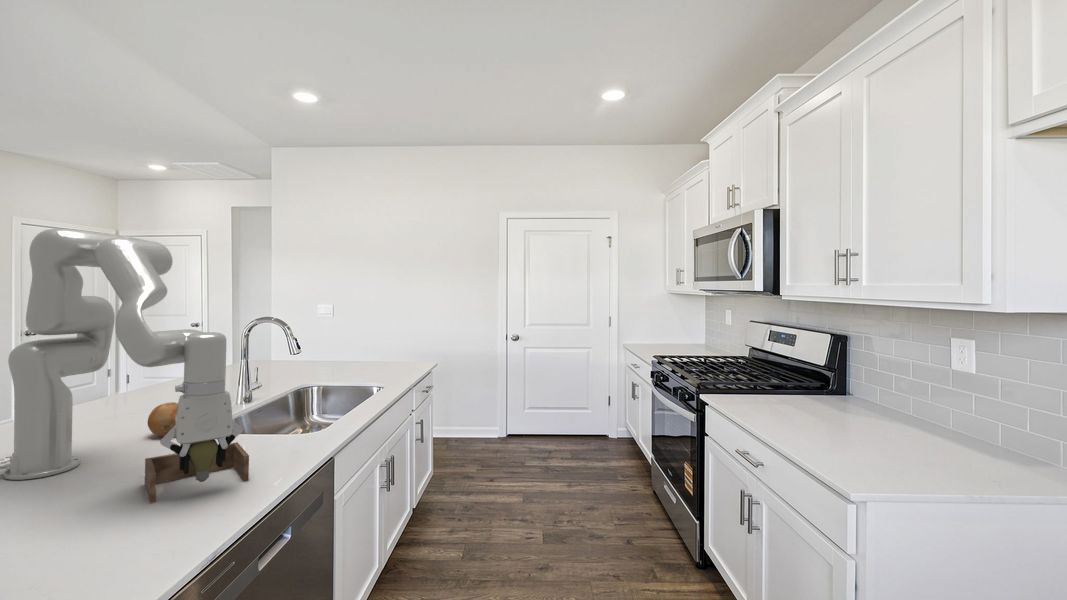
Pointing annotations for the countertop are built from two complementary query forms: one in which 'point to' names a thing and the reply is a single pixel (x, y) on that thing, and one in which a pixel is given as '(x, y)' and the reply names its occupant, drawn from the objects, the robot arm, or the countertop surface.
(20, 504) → the countertop surface
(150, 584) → the countertop surface
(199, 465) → the light bulb
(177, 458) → the brown legged wooden frame
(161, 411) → the onion
